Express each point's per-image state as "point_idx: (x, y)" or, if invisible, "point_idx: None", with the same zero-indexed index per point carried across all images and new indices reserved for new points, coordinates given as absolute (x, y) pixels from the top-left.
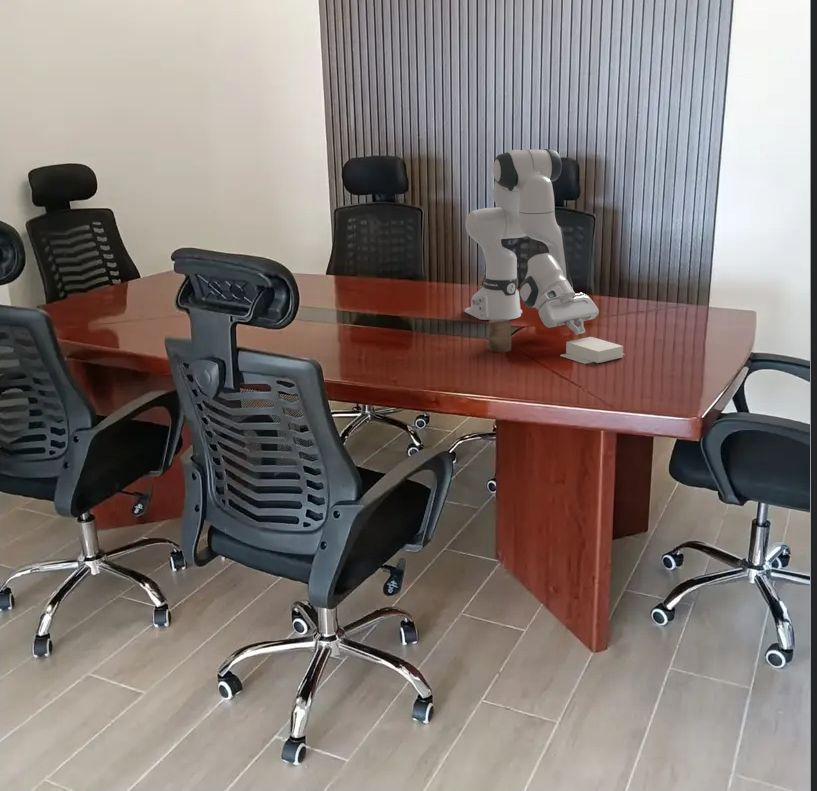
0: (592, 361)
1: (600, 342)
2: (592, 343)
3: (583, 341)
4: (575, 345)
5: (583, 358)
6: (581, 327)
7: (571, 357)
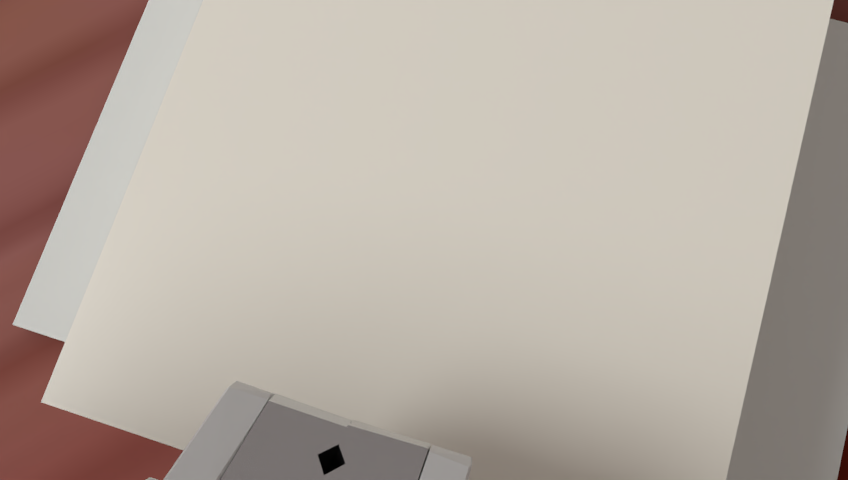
0: None
1: (339, 40)
2: (483, 117)
3: (458, 325)
4: (754, 335)
5: None
6: (267, 477)
7: (814, 349)
